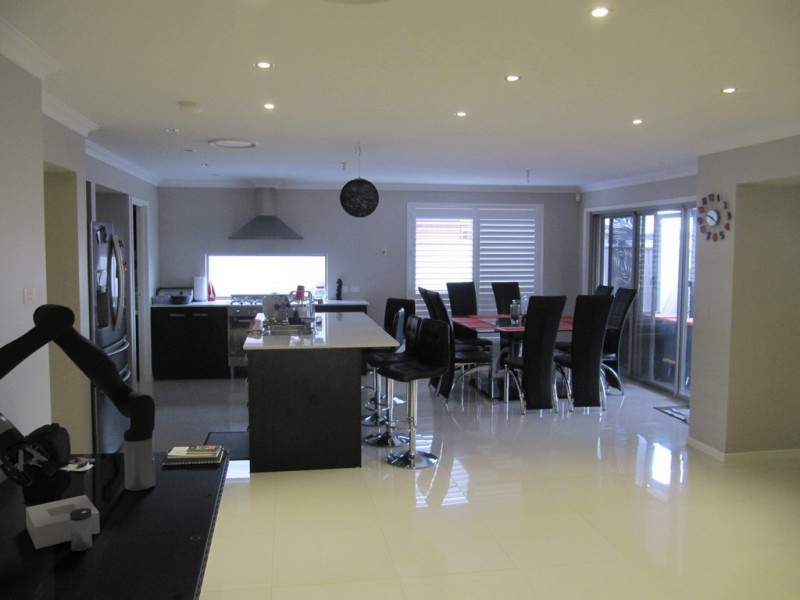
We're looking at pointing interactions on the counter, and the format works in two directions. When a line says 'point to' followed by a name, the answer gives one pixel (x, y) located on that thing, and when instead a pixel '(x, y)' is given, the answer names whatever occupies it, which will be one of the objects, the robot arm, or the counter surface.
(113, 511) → the counter surface
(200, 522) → the counter surface
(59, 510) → the grey block with recess
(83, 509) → the lens
